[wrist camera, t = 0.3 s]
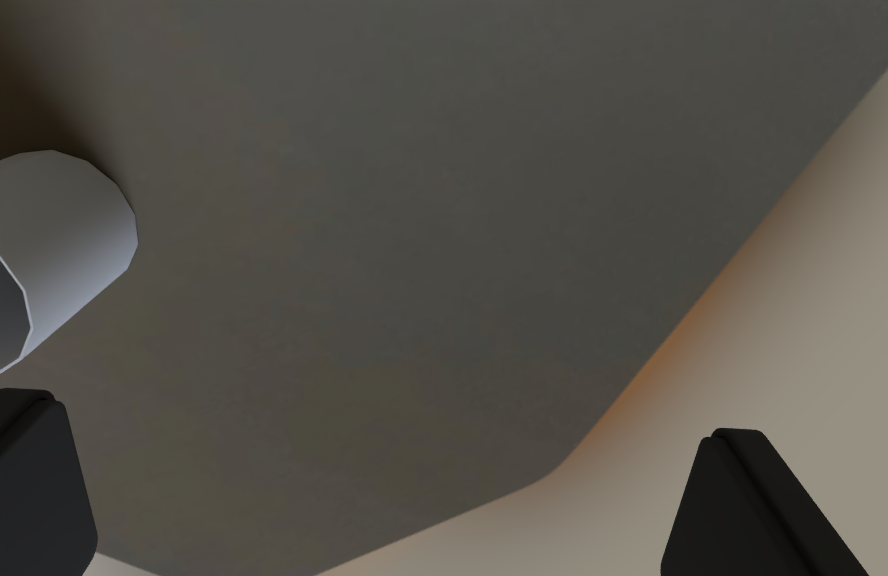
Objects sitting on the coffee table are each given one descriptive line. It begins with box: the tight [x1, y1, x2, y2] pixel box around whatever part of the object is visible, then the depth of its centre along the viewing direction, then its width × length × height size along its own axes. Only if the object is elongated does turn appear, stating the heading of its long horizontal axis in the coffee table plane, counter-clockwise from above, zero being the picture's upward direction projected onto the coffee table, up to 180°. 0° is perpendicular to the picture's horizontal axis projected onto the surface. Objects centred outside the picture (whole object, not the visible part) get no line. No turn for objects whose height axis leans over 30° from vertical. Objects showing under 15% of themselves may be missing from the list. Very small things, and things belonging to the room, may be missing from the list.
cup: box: [0, 150, 138, 373], centre depth 30 cm, size 8×8×10 cm
